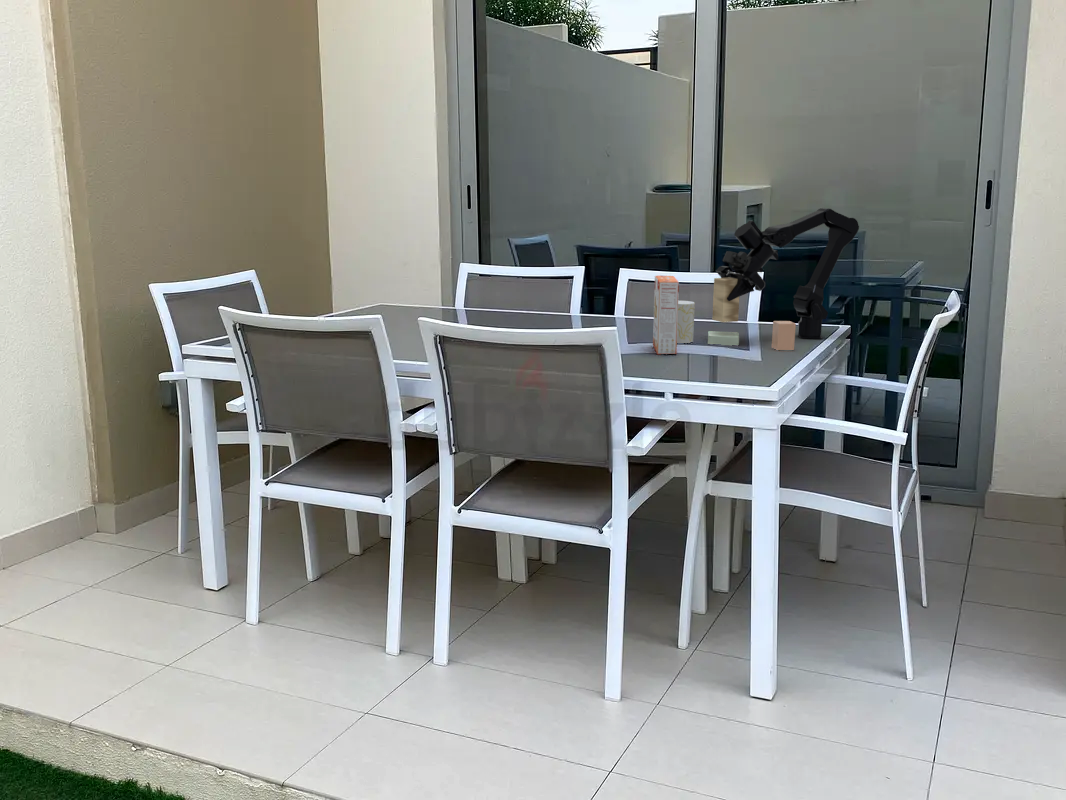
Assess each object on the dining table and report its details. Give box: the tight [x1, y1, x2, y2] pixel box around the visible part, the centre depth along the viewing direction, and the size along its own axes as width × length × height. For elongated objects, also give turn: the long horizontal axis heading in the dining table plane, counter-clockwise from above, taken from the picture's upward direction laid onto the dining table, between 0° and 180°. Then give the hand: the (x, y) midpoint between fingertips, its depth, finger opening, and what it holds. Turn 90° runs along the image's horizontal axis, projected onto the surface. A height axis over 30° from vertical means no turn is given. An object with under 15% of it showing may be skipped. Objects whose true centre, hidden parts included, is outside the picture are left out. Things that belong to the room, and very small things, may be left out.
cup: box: [677, 300, 696, 343], centre depth 310 cm, size 8×8×12 cm
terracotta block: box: [771, 320, 796, 351], centre depth 300 cm, size 5×5×8 cm
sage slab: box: [707, 330, 740, 346], centre depth 311 cm, size 9×9×3 cm
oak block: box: [711, 277, 740, 323], centre depth 308 cm, size 6×6×12 cm
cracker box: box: [652, 275, 680, 356], centre depth 294 cm, size 14×6×21 cm, turn 178°
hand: (722, 298), depth 307 cm, fingers closed on oak block, 5 cm apart
